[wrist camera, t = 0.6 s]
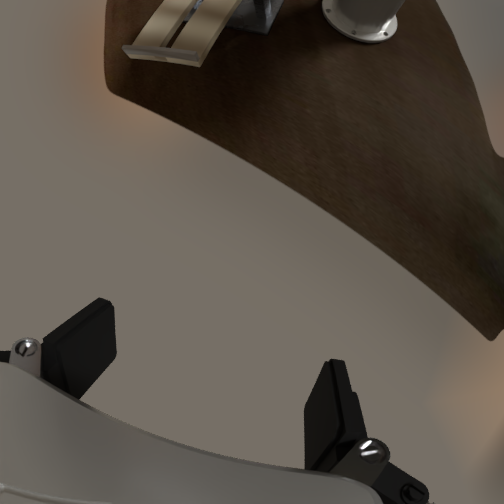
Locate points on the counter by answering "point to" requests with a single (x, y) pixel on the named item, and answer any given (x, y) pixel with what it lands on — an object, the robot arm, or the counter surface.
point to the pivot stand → (250, 15)
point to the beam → (191, 37)
